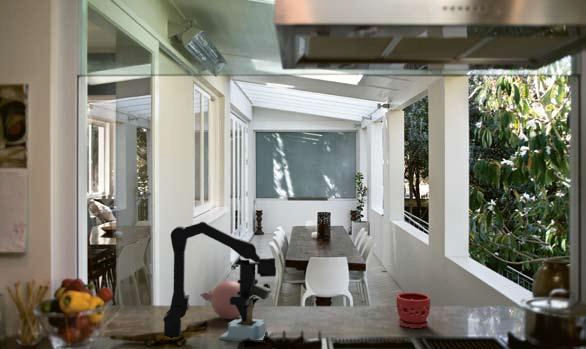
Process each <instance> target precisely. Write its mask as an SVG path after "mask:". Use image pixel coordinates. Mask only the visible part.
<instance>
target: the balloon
mask: <svg viewBox="0 0 586 349" xmlns="http://www.w3.org/2000/svg"><path fill="white" fill-rule="evenodd" d="M239 288H240V283H238V281H234V280H227V281H223V282H221V283H219V284H218V285H217V286H216V287H214V288H213V289H211V290H209V291H205V292H203V293H201V294H199V295H200V297H202V298H203V299H204V301H209V302H210V305H211V308H212V310H213V311H214V313H215V314H216V315H217V316H218V317H220V318H222V319H225V320H227V319H228V320H231V319H236V318H238V317H241V316H240V313H239V311H238V309H237V307H236V305H230V298H231V297H232V296H234V295H237V292H238V291H239Z"/></svg>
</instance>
